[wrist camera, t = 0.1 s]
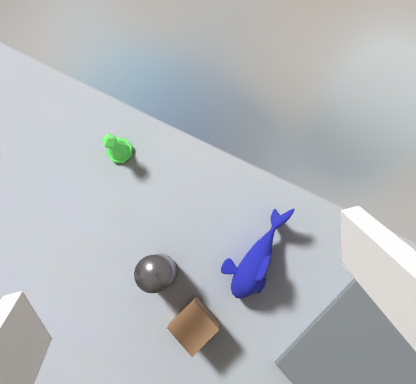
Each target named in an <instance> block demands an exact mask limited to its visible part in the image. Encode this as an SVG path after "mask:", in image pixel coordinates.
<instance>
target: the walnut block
mask: <svg viewBox="0 0 416 384" xmlns="http://www.w3.org/2000/svg"><path fill="white" fill-rule="evenodd" d="M167 329H168V330H169V331H170V332H171V333H172V334H173V336H174V337H175V338H176V339H177V340H178V341H179V343H180V344H181V345H182V346H183V347H184V348H185V350H186V351H187V352H188V353H189V354H190V355H191V357H193V356H194V355H195V354H196V353H197V352H198V351H199V350H200V349H201V348H202V347H203V346H204V345H205V344H206V343H207V342H208V341H209V340H210V339H211V338H212V337H213V336H214V335H215V334H216V333H217V332H218V331H219V320H218V319H217V318H216V317H215V316H214V315H213V314H212V312H211V311H210V310H209V309H208V308H207V307H206V306H205V305H204V304H203V302H202V301H201V300H200V299H199V298H198V297H197V296H196V297H195V298H194V299H193V300H192V301H191V302H190V303H189V304H188V305H187V306H186V307H185V308H184V309H183V310H182V311H181V312H180V313H178V314H177V315H176V316H175V317H174V318H173V319H172V321H171V322H170V324H169V325H168V327H167Z"/></svg>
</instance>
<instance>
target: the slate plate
mask: <svg viewBox="0 0 416 384" xmlns="http://www.w3.org/2000/svg"><path fill="white" fill-rule="evenodd" d="M275 363H276V365H277V366H278V367H279V369H280V370H281V371H282V372H283V373H284V374H285V375H286V376H287V377H288V378H289V380H290V381H291V382H292V383H293V384H416V351H415V350H414V349H413V348H412V347H411V345H410V344H409V343H408V342H407V341H406V339H405V338H404V337H403V336H402V335H401V333H400V332H399V331H398V330H397V329H396V327H395V326H394V325H393V324H392V323H391V321H390V320H389V319H388V318H387V317H386V315H385V314H384V313H383V312H382V311H381V309H380V308H379V307H378V306H377V305H376V303H375V302H374V301H373V300H372V299H371V297H370V296H369V295H368V294H367V293H366V291H365V290H364V289H363V288H362V287H361V285H360V284H359V283H358V282H357V281H356V279H355V278H354V280H353V281H352V282H351V283H350V284H349V285H348V286H347V287H346V288H345V289H344V290H343V291H342V292H341V293H340V294H339V295H338V296H337V297H336V298H335V299H334V300H333V301H332V303H331V304H330V305H329V306H328V307H327V308H326V309H325V310H324V311H323V312H322V313H321V314H320V315H319V316H318V317H317V318H316V319H315V320H314V321H313V322H312V323H311V325H310V326H309V327H308V328H307V329H306V330H305V331H304V332H303V333H302V334H301V335H300V336H299V337H298V338H297V339H296V340H295V341H294V342H293V343H292V344H291V345H290V347H289V348H288V349H287V350H286V351H285V352H284V353H283V354H282V355H281V356H280V357H279V358H278V359H277V360H276V361H275Z"/></svg>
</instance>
